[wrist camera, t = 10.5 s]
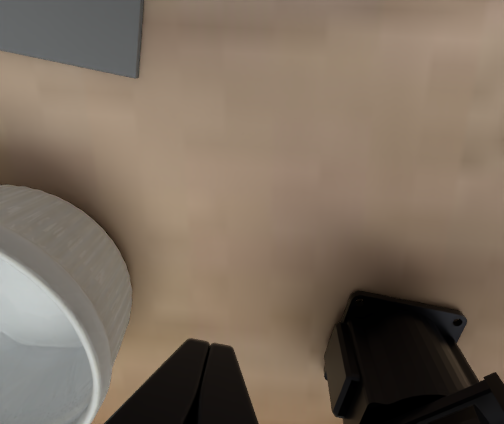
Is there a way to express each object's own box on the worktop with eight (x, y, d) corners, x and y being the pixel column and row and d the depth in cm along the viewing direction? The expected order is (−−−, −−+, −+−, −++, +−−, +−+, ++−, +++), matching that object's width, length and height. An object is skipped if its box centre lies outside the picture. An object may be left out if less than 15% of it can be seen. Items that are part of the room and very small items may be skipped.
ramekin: (-58, 335, 25) (-173, 433, 19) (-89, 139, 20) (-263, 182, 14) (142, 375, 25) (95, 486, 19) (162, 192, 20) (108, 259, 14)
